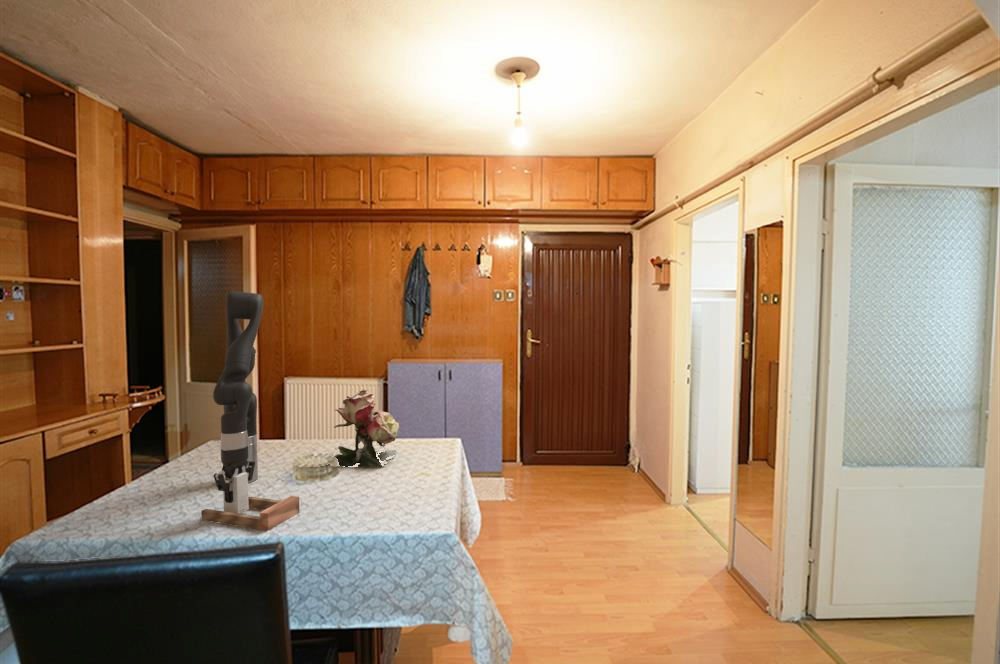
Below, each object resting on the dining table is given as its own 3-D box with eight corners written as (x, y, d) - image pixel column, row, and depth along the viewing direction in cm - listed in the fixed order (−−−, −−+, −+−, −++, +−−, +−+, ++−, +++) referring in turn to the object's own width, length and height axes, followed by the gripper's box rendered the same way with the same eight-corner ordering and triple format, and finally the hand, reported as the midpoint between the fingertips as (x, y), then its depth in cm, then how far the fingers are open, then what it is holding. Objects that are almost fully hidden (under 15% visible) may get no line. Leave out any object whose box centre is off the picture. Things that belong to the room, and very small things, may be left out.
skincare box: (249, 509, 147) (248, 472, 146) (237, 515, 143) (236, 477, 142) (235, 507, 149) (234, 470, 148) (223, 512, 145) (222, 474, 144)
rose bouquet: (395, 468, 189) (394, 395, 188) (324, 468, 189) (322, 395, 188) (407, 450, 215) (406, 385, 214) (344, 450, 215) (343, 386, 214)
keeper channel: (201, 520, 142) (201, 504, 141) (236, 503, 154) (236, 488, 154) (268, 530, 135) (268, 513, 134) (299, 512, 147) (299, 496, 147)
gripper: (243, 438, 153) (244, 489, 153) (204, 451, 139) (206, 507, 140) (262, 440, 151) (263, 492, 151) (224, 453, 137) (226, 509, 138)
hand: (236, 499), depth 146 cm, fingers closed on skincare box, 4 cm apart
